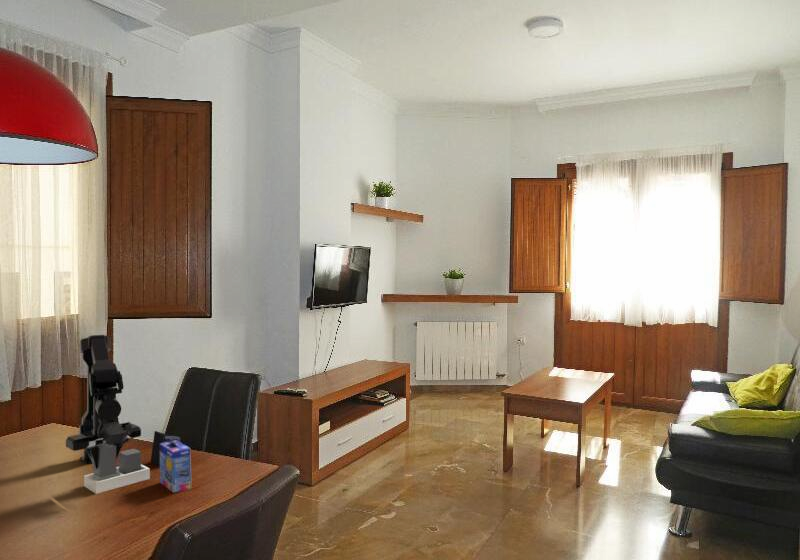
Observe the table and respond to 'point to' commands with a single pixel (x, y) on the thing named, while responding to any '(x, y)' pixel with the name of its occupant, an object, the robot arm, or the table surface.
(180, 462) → the ink cartridge box
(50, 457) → the table surface
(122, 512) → the table surface
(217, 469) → the table surface
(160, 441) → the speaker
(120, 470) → the twin plug
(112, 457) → the grey rectangular block
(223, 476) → the table surface
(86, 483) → the dock
